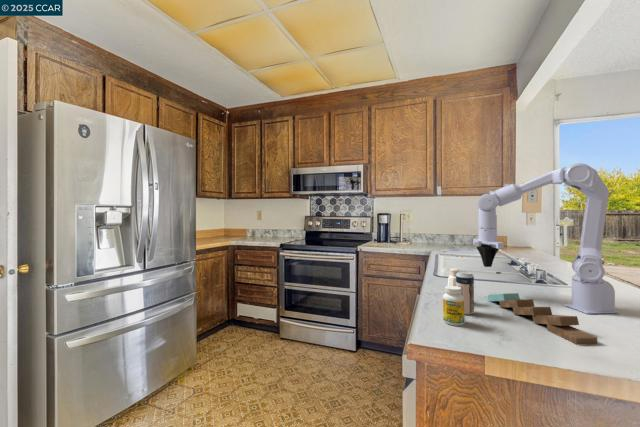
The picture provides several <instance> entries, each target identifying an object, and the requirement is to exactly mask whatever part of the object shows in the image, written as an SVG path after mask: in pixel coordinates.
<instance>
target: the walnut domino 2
mask: <svg viewBox="0 0 640 427" xmlns="http://www.w3.org/2000/svg"><path fill="white" fill-rule="evenodd" d="M512 311H513V315H518V316H519V315H522V316H532V315H553V312H552V308H551V306H535V307H512Z"/></svg>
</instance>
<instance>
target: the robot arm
mask: <svg viewBox="0 0 640 427" xmlns="http://www.w3.org/2000/svg"><path fill="white" fill-rule="evenodd" d="M566 168H567V169H566ZM563 183H564V184H565V185H566V186H569V187H571V188H574V189H577V190H578V191H579V192H580V193H581V194H583V195H584V197H585V203H584V204H585V206H584V211H583V212H584V214H583V219H582V225H581V226H582V227H581V235H580V242H579V248H578V250H577V255H576V257H575V258H574V259H573V261H572V263H571V268H572V269H573V272H575V274H574V275H572V276H571V303H564V304H563V305H564V306H566V307H568V308H570V309H573V310H575V311H579V312H582V313H584V314H587V315H590V314H594V315H596V314H599V315H600V314H618V313H619V312H618V310H616V306H615V305H616V304H615V303H616V302H615V301H616V298H615V297H616V291H615V287H614V286H613V285H612V284H611V283H610V281H607V280H605V279H604V277H605V275H606V274H605V273H606V271H605V268H604V266H603V264H602V263H603V262H602V261H603V256H602V254H603V253H602V244H603V238H604V230H605V223H606V217H607V209H608V204H609V195H610V190H609V188H608V186H607V185H606V183H605V182H604V181H603V179H602V178H601V176H600V175H599V173H598V171H597V170H596V169H595V168H593V167H591V166H590V165H589V164H585V163H582V162H581V163H580V162H579V163H574V164H571V165H570V166H568V167H567V166H564V167H561V168H558V169H555V170H552V171H549V172H546V173H544V174H542V175H539V176H537V177H535V178H533V179H531V180H528V181H526V182H523V183H521V184H515V183H510V184H509V183H506V184H503V187H500V188H498V189H496V190H490V191H489V193H484V194H482V195H481V196H480V197H478V199H477V207H478V217H477V222H478V223H477V224H478V231H477V232H478V235H477V238H473V244H474V245H477V246H476V249H477V250H478V253H479V255H480V258H481V262H482V264H483V267H485V268H491V267H492V266H493V262H494V260H495V256H496V255H497V253H498V252H499V250H500V249H502V250H503V249H505V247H504V246H505V245H504V244H505V242H501V241H499V240H498V228H497V227H498V216H497V207H498V206H499V207H503V206H505V205H508V204H510V203H513V202H516V201H519V200H521V199H522V196H523V195H524V194H526V193H528V192H530V191H534V190H537V189H540V188H542V187H545V186H549V185H562V184H563ZM478 245H479V246H478Z"/></svg>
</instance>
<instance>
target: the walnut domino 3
mask: <svg viewBox="0 0 640 427" xmlns="http://www.w3.org/2000/svg"><path fill="white" fill-rule="evenodd" d="M531 317H532V320H533V324H539V325H540V324H541V325H559V326H568V325H569V326H579V325H580V323H579V322H580V321H579V318H578V316H577V315H575V316H574V315H562V314H552V315H531Z"/></svg>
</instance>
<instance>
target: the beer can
mask: <svg viewBox="0 0 640 427" xmlns="http://www.w3.org/2000/svg"><path fill="white" fill-rule="evenodd" d="M456 286H457V287H460V288H461V294H460V295H462V296H463V297H464V316H465V315H466V316H470V315H472V314H474V313H475V276H474V274H473V273H472V272H471V271H470V272H469V271H462V270H461V271H460V270H459V272H457V274H456Z"/></svg>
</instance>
